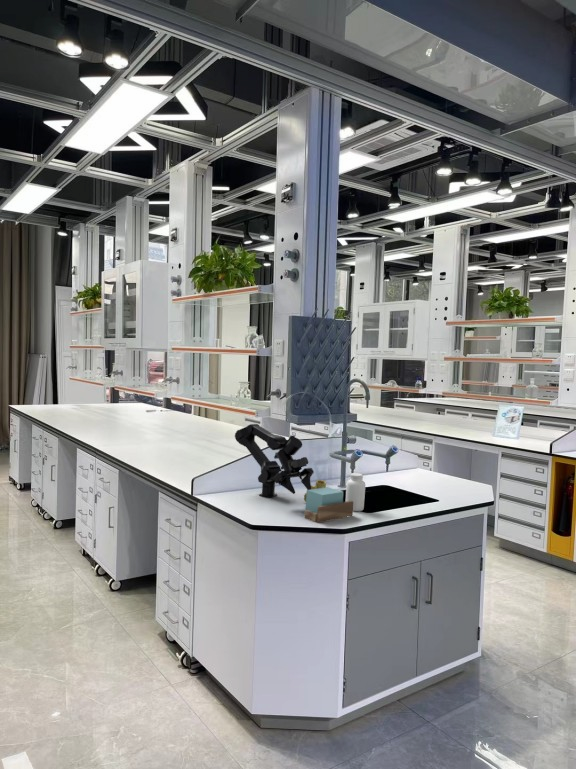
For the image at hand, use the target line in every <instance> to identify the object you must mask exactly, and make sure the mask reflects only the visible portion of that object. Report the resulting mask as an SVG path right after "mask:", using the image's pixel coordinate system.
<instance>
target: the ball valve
mask: <svg viewBox="0 0 576 769" xmlns="http://www.w3.org/2000/svg"><path fill="white" fill-rule="evenodd" d="M325 487H327V481H325V480H322V479H318V480H316V481H315V485H311V489H318V488H325ZM306 494H307V492H306V493H304V498H303V499H304V502H305V503H306Z"/></svg>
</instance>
